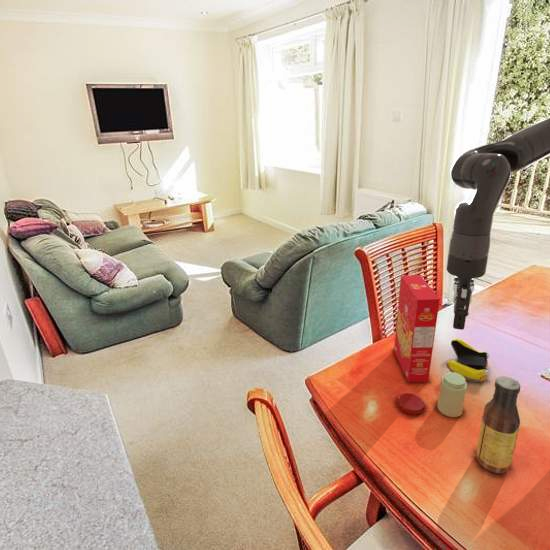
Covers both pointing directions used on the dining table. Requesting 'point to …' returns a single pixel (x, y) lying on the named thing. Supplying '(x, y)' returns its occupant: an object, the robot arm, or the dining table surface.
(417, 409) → the lid
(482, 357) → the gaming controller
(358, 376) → the dining table surface
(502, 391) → the sauce bottle
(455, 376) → the jar
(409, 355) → the food packaging
